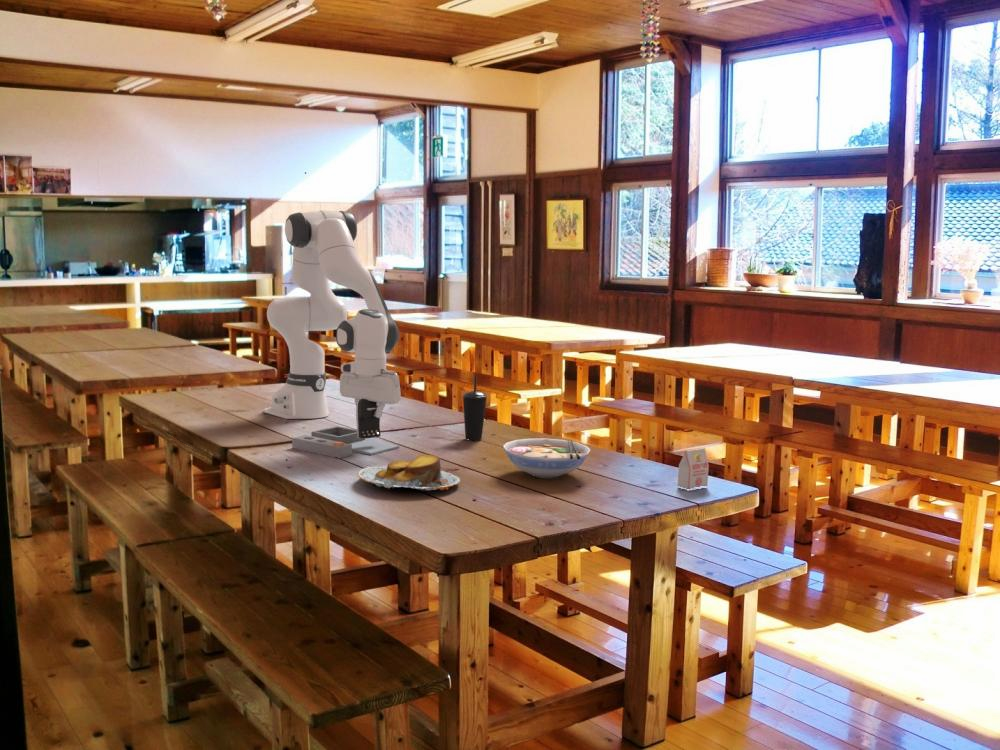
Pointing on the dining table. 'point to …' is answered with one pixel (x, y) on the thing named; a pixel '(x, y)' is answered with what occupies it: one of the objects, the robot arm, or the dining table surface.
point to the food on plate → (410, 474)
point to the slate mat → (372, 447)
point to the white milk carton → (693, 469)
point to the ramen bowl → (546, 456)
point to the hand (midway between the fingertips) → (369, 415)
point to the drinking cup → (474, 412)
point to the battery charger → (367, 419)
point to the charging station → (328, 441)
